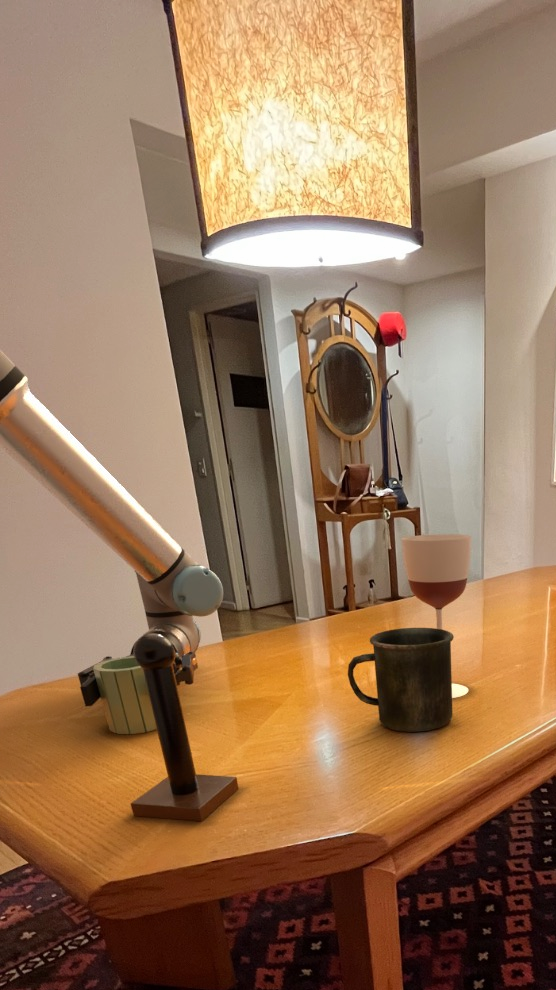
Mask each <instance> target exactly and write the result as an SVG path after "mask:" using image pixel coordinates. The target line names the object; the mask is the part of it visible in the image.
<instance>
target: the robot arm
mask: <svg viewBox="0 0 556 990" xmlns="http://www.w3.org/2000/svg"><path fill="white" fill-rule="evenodd" d="M0 448H2V449H3V450H4V451H5V452H6V453H7V454H8V455H9V456H10V457H12V459H14V460H15V461H16V462H17V463H18V464H19V465H20V466H21V467H22V468H23V469H24V470H25V471H26V472H28V473H29V474H30V476H32V477H33V478H34V479H35V480H36V481H37V482H38V483H39V484H41V485H42V487H44V488H45V489H46V490H47V491H48V492H49V493H50V494H51V495H52V496H54V498H55V499H57V500H58V501H59V502H60V503H61V504H62V505H63V506H64V507H65V508H66V509H68V510H69V511H70V512H71V513H72V514H73V515H74V516H75V517H76V518H77V519H79V520H80V522H82V524H84V525H85V526H86V527H87V528H88V529H90V531H92V533H94V534H95V535H96V536H97V537H98V538H99V539H100V540H101V541H102V542H103V543H104V544H106V545H107V547H109V548H110V549H111V550H112V551H113V552H114V553H115V554H116V555H118V556H119V557H120V558H121V559H122V560H123V561H124V562H125V563H126V564H127V565H128V566H130V568H132V569H133V570H134V573H135V575H136V580H137V583H138V587H139V591H140V596H141V600H142V604H143V608H144V613H145V619H146V623H147V626H148V630H147V631H146V632H145V633H143V635H146V634H150V633H155V634H160V635H162V636H164V637H166V638H167V639H168V640H169V641H170V642H171V643H172V645H173V647H174V649H175V660H174V662H173V664H172V665H173V670H174V674H175V679H176V684H177V687H179V686H180V685H181V683H183V682H184V684H185V685H192V684H194V682H195V681H194V680H195V671H196V670H197V669H198V668H199V666H198V665H199V664H198V660H197V655H196V652H197V650H198V648H199V645H200V643H201V639H202V634H201V633H202V632H201V629H200V626H199V624H198V623H197V622H196V621H195V619H194V617H200V618H201V617H207V616H210V615H212V614H214V613H215V612H216V611H217V610H218V609H219V608H220V606H221V605H222V602H223V600H224V587H223V584H222V582H221V580H220V578H219V576H218V575H217V574H216V573H215V572H213V571H212V570H210V569H209V568H208V567H206V566H204V565H201V564H198V562H197V561H196V560H195V559H194V558H193V557H192V556H191V555H190V554H189V553H188V552H187V551H186V550H185V549H183V548H182V546H181V545H180V544H179V543H178V542H177V541H176V540H175V539H174V538H173V537H172V536H171V535H170V534H169V533H168V532H167V531H166V530H165V529H164V528H163V527H162V525H160V524H159V523H158V522H157V521H156V520H155V518H154V517H152V516H151V515H150V514H149V512H147V510H146V509H145V508H144V507H143V506H142V505H141V504H140V503H139V502H138V501H137V500H136V499H135V498H134V497H133V496H132V495H131V494H130V493H129V492H128V491H127V490H126V488H124V487H123V486H122V485H121V484H120V483H119V482H118V481H117V479H116V478H114V476H113V475H112V474H111V473H109V472H108V470H107V469H106V468H105V467H104V466H103V465H102V464H101V463H100V462H99V461H98V460H97V459H96V458H95V457H94V456H93V455H92V454H91V453H90V452H89V451H88V450H87V449H86V448H85V447H84V446H83V445H82V444H81V443H80V442H79V441H78V439H76V438H75V436H74V435H72V434H71V432H70V431H69V430H68V429H67V428H66V427H65V426H64V425H63V424H62V423H61V422H59V420H58V419H57V418H56V417H55V416H54V415H53V414H52V413H51V412H50V411H49V410H48V409H47V408H46V407H45V406H44V405H43V404H42V403H41V402H40V401H39V399H37V397H35V396H34V395H33V393H32V392H31V391H30V388H29V381H28V377H27V376H26V374H24V373H23V372H22V371H21V369H19V367H18V366H16V365H15V364H14V362H13V361H12V360H11V359H10V358H9V357H8V356H7V355H6V354H5V353H4V352H3V350H2V349H0ZM143 635H142V636H143ZM135 643H136V641H135V642H134V644H133V645H132V647H131V650H130V654H129V655H127V656H125V657H129V656H134V653H133V650H134V645H135ZM115 658H116V657H115ZM115 658H114V657H113V656H110V655H107V656H105V657H103V658H102V660H100V661H99V662H97V663H95V664H93V665H91V666H89V667H87V668H85V669H83V670H82V671H79V672H78V673H77V677H78V680H79V684H80V687H79V689H80V692H81V696H82V698H83V699H82V700H83V702H84V706H85V707H92V706H93V705H94V704H95V703H96V702H97V701H99V699H101V696H100V692H99V689H98V685H97V681H96V677H95V674H94V670H93V667H94V666H95V665H96V664H98V663H100V662H103V661H106V660H110V659H115Z"/></svg>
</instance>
